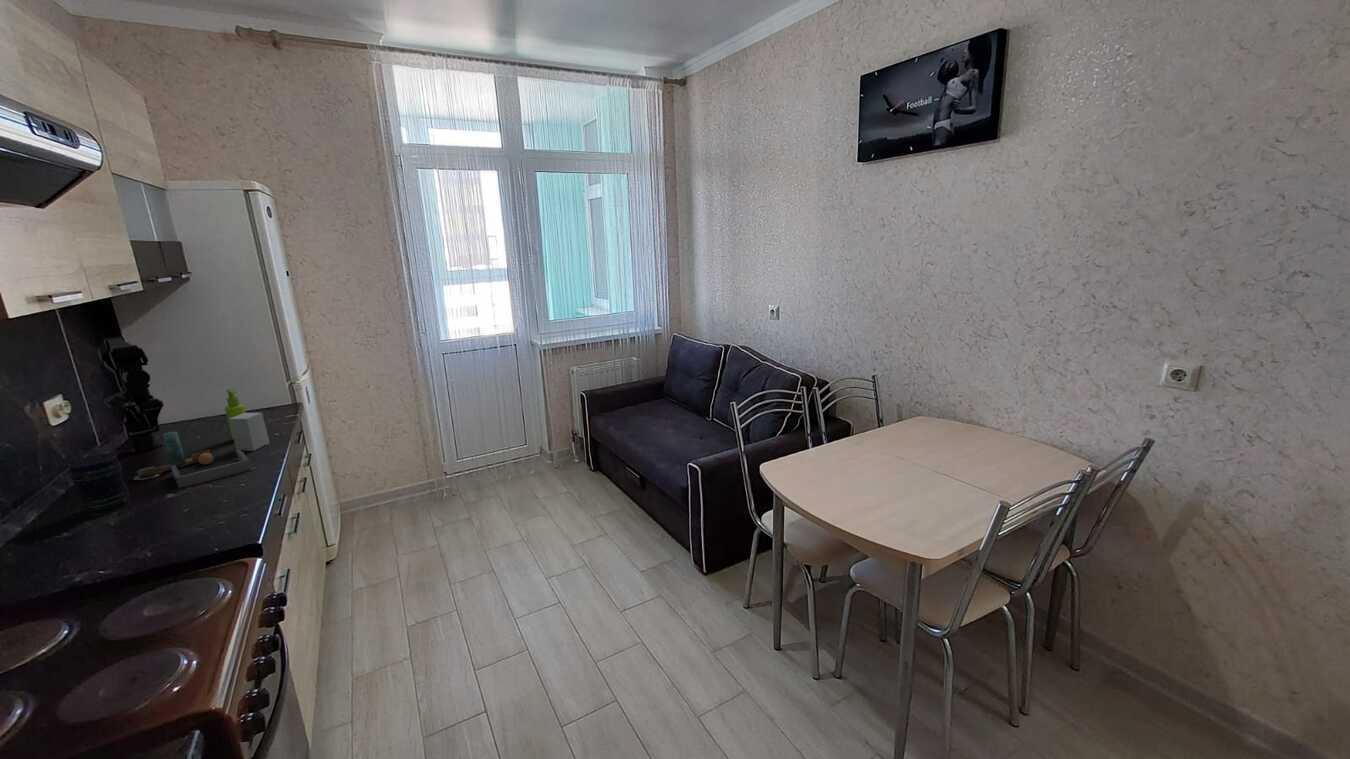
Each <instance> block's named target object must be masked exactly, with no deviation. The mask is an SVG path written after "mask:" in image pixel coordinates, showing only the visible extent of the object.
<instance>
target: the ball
mask: <svg viewBox="0 0 1350 759" xmlns="http://www.w3.org/2000/svg"><path fill="white" fill-rule="evenodd" d="M210 453H211V452H210ZM210 453H203V454H201V455H200V456H199V457H198V462H199V464H201V465H209V464H211V463H212V462H213V460H214V456H212V455H213V454H212V453H211V454H212V455H211V454H210Z"/></svg>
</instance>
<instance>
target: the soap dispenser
mask: <svg viewBox="0 0 1350 759" xmlns="http://www.w3.org/2000/svg"><path fill="white" fill-rule="evenodd" d="M225 391H226V392H227V393H228V394H227V395H228V398H226V400H227V405H228V406H227V407H224V410H225V415H226V419H227V422H228V423H227V424H228V427H229V431H230V435H231V438H232V440H233V435H232V431H231V427H230V423H229V420H228V419H230V418H232V417H235V416H238V415H240V414H243V413H247V412H246V408H245V404H240V400H239V397H238V396H236V395H235V394H238V393H237V390H236V389H235V388H229V389H226V390H225Z"/></svg>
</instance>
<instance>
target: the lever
mask: <svg viewBox="0 0 1350 759" xmlns="http://www.w3.org/2000/svg"><path fill="white" fill-rule="evenodd" d="M162 437H163V440H164V445H165V448H166V451H167V454H168V457H169V462H170V463H169V464H165V465H161V466H157V467H156V466H148V467H144V468H141V469H138V470H137V471H136V472H137V474H138V475H139V478H146V477H150V476H153V475H156V474H157V473H160V472H166V471H172V470H171V466H173V465H176V467H177V469H180V468H183V467H186V466H188V465H191V464H194V465H195V464H198V463H199V462H198V457H199V456H200V455H201V454H203V453H210V454H211V455H212V456H213V455H214V454H212V453H211V450H210V449H208V450H205V451H200V452H197V453H193V454H190V455H191V458H190V457H189V458H186V459H185V456H184V452H183V448H182V444H181V441H180V437H179V434H178V431H169V432H165V433H163V434H162ZM213 457H214V456H213ZM199 464H200V463H199ZM138 475H137V476H138Z"/></svg>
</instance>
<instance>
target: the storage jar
mask: <svg viewBox="0 0 1350 759" xmlns="http://www.w3.org/2000/svg"><path fill="white" fill-rule="evenodd" d="M119 461H120V460H119V459H118V454H117V453H115V452H113V453H112V452H111V453H108V452H107V453H100V454H94V455H90V456H86V457H82V458H78V459H76V460H73V461H71V462H70V463H68V465H67V466H68V470H69V472H70V477H71V479H72V482H73V485H75V486H76V490H77V492H78V500H79V504H80V506H81V507H82V510H83V514H84V515H85V516H100V515H105V514H108V513H109V514H110V513H113V512H116V511H120V509H124V508H125V506H126V507H128V506H129V505H131V504H132V499H131V498H130V491H129V489H128V485H127V483H125V480H124V478H123V474H122V473H123V469H122V466H121V462H119ZM128 504H129V505H128Z"/></svg>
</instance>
